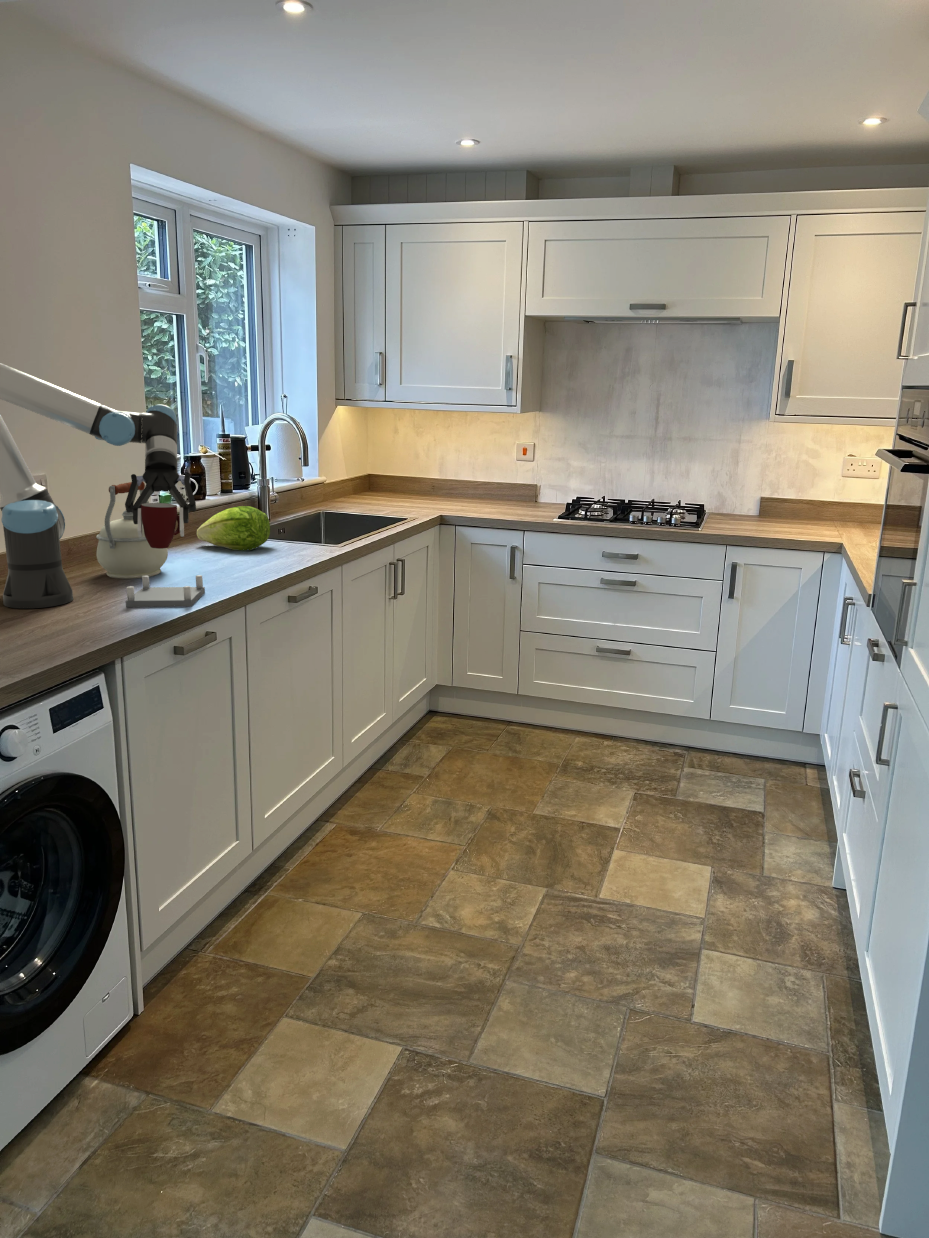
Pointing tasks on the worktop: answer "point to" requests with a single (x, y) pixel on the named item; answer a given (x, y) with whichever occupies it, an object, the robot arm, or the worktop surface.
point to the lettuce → (236, 528)
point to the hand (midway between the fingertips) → (161, 533)
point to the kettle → (127, 544)
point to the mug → (159, 523)
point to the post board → (165, 595)
